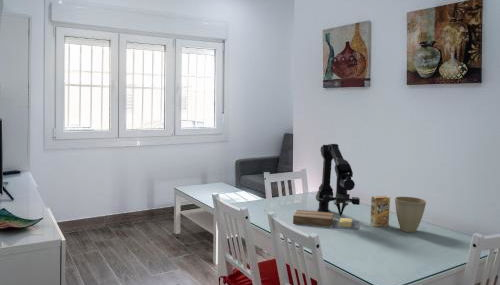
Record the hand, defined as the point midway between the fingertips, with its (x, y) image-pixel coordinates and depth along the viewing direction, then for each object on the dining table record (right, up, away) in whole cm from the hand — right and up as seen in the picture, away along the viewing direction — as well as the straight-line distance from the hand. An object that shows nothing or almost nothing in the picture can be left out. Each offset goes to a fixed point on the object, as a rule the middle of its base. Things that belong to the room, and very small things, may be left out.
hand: (340, 215), depth 224 cm
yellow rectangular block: (+3, -2, -1) cm, 4 cm away
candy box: (+20, -5, 0) cm, 21 cm away
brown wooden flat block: (-14, -4, +4) cm, 15 cm away
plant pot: (+33, -6, -7) cm, 34 cm away
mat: (+3, -5, 0) cm, 5 cm away
